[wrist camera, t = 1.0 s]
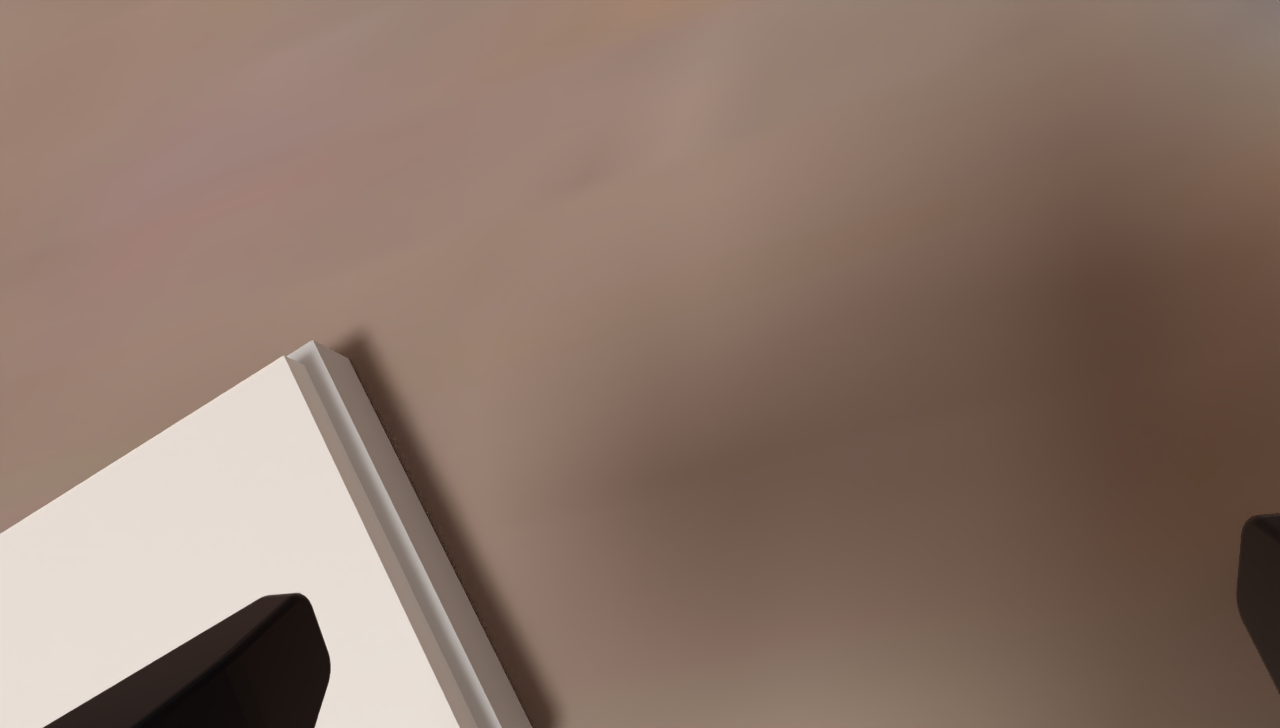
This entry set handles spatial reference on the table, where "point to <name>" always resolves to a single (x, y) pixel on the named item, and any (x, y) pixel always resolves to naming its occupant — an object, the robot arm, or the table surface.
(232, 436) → the stand
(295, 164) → the table surface
